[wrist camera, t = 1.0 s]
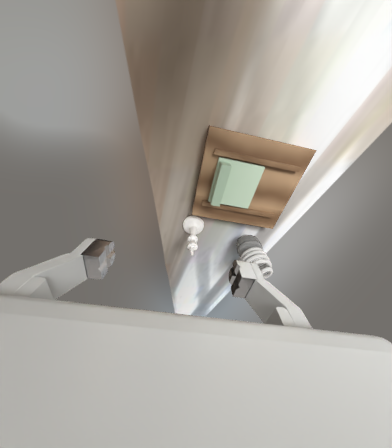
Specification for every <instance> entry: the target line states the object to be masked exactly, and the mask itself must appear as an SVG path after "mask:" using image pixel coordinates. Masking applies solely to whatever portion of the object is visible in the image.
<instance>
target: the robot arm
mask: <svg viewBox="0 0 392 448" xmlns="http://www.w3.org/2000/svg"><path fill="white" fill-rule="evenodd" d="M113 248H114V242H113V241H107V240H101V239H95V238H87V239H85V240H84V241H83V242H82V243H81V244H80V245H79V246H78V247H77V248H76V249H75V250H73V251H72V252H71V253H67V254H64V255H61V256H59V257H56V258H53V259H50V260H48V261H45V262H43V263H40V264H37V265H35V266H32V267H29V268H26V269H24V270H21V271H18V272H15V273H13V274H12V275H11V276H9V277H8V278H6V279H5V280H4V281H2V282H1V283H0V448H392V343H390V342H389V341H387V340H386V339H383V338H381V337H377V336H371V335H361V334H352V333H343V332H334V331H325V330H316V329H312V327H311V325H310V324H309V322H308V320H307V319H306V318H305V315H304V314H303V312H302V310H301V309H300V308H299V307H298V306H296V305H295V304H294V303H293V302H292V301H290V300H289V299H288V298H287V297H286V296H285V295H283V294H282V293H281V292H280V291H279V290H277V289H276V288H275V287H274V286H273V285H272V284H270V283H269V282H268V281H265V279H264V277H263V275H262V273H261V271H260V269H259V267H258V265H257V263H255V262H246V261H239V260H234V262H233V267H232V268H231V269H230V271H229V282H230V283H231V284H232V286H231V291H232V295H233V296H234V297H240V298H245V300H246V301H247V302H248V303H249V305H250V306H251V307H252V309H253V310H254V311H255V312H256V314H257V315H258V316H259V318H260V319H261V320H262V321H263V323H254V322H246V321H236V320H228V319H219V318H209V317H201V316H193V315H184V314H175V313H166V312H157V311H148V310H138V309H131V308H121V307H112V306H104V305H95V304H86V303H77V302H68V301H58V300H56V299H57V298H59V297H60V296H61V295H63V294H65V293H66V292H68V291H70V290H71V289H73V288H74V287H76V286H77V285H79V284H80V283H82V282H84V281H85V280H87V278H90V279H100V280H102V279H103V278H104V276H105V275H106V273H107V272H108V270H107V268H109V267H111V266H112V264H113V262H114V259H115V251H114V250H113Z"/></svg>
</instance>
